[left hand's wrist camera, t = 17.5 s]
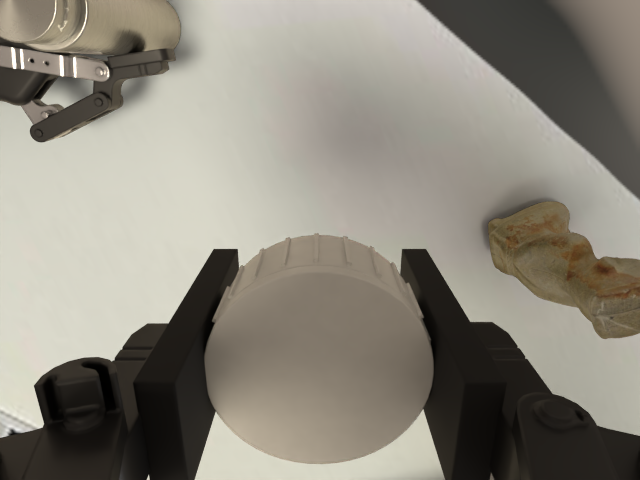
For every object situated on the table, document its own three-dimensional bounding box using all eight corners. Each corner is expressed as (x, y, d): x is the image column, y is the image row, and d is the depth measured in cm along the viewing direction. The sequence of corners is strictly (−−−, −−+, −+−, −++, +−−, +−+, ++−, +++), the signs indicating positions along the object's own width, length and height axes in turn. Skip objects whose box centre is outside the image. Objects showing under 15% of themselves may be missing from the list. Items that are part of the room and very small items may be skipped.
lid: (189, 263, 12) (160, 306, 10) (391, 205, 11) (408, 237, 9) (259, 420, 13) (247, 486, 11) (435, 377, 13) (458, 438, 11)
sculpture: (561, 248, 41) (689, 344, 27) (483, 266, 41) (567, 368, 27) (558, 188, 38) (695, 258, 25) (475, 207, 39) (562, 286, 25)
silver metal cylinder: (191, 20, 34) (82, -20, 18) (163, 69, 35) (38, 72, 19) (140, -19, 33) (-22, -97, 17) (113, 33, 34) (-61, 5, 18)
